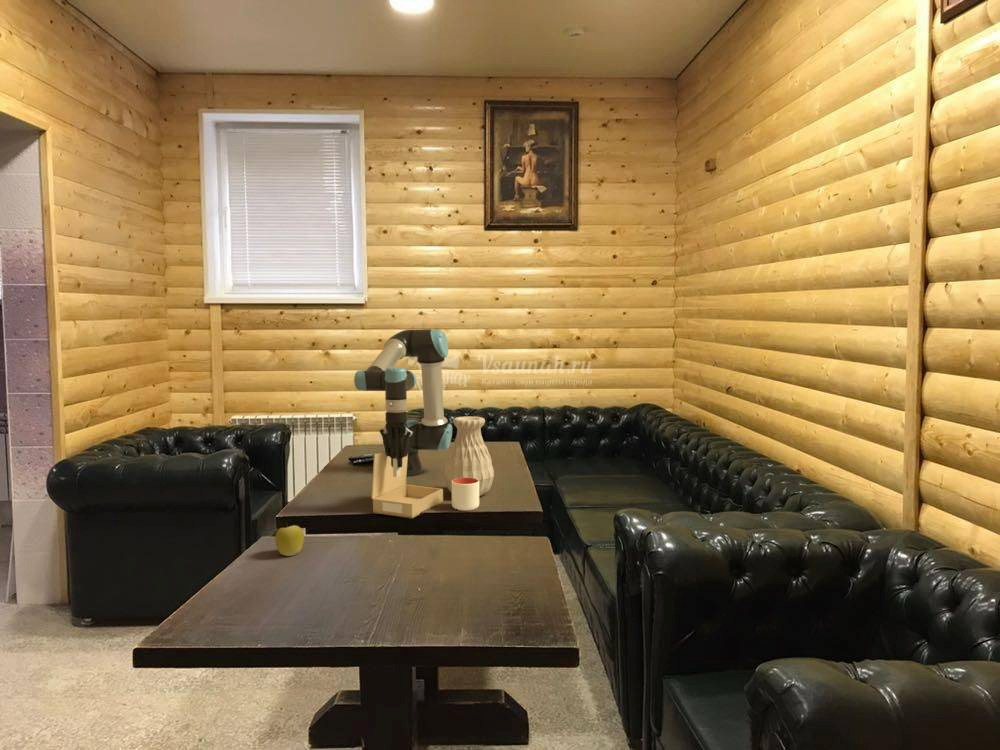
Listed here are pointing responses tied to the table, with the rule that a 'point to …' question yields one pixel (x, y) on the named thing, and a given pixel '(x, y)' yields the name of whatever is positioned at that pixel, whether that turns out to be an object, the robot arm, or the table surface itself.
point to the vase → (469, 455)
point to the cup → (465, 494)
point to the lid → (386, 475)
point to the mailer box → (407, 501)
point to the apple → (289, 540)
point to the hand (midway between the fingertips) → (396, 475)
